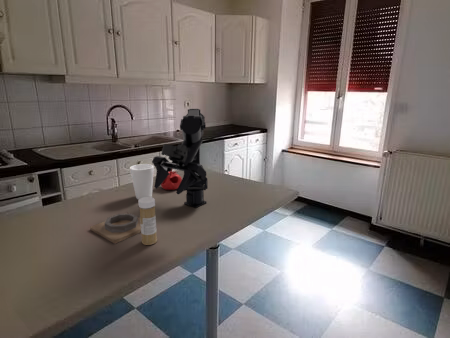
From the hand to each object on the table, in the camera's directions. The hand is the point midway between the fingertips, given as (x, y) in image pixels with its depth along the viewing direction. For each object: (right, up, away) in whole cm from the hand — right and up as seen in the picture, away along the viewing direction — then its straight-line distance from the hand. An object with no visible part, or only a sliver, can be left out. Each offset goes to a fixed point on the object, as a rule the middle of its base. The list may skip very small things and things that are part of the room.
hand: (166, 190), depth 88 cm
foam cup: (-16, -5, +33) cm, 37 cm away
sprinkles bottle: (-4, -15, -3) cm, 16 cm away
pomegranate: (-7, -2, +44) cm, 45 cm away
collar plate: (-15, -13, +5) cm, 20 cm away
